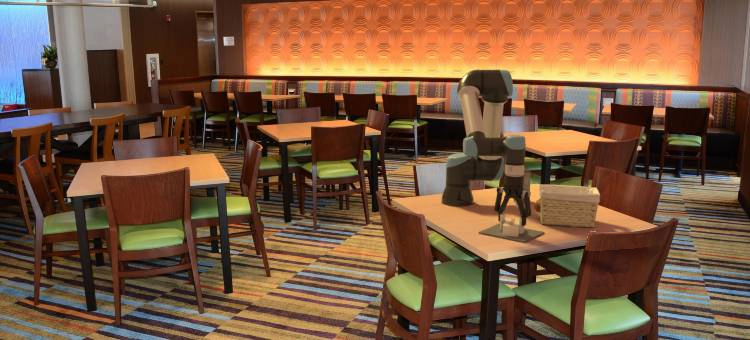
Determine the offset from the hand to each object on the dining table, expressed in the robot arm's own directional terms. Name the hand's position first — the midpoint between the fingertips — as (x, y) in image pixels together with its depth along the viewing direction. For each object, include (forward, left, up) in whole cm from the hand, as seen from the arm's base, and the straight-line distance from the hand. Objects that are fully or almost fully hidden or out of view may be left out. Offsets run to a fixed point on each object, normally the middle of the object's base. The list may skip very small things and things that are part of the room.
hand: (511, 231), depth 260 cm
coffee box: (-22, +51, -1) cm, 56 cm away
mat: (0, 0, -1) cm, 1 cm away
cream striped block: (0, 0, 0) cm, 0 cm away
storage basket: (+10, +30, -1) cm, 32 cm away
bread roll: (-7, +44, -1) cm, 45 cm away
